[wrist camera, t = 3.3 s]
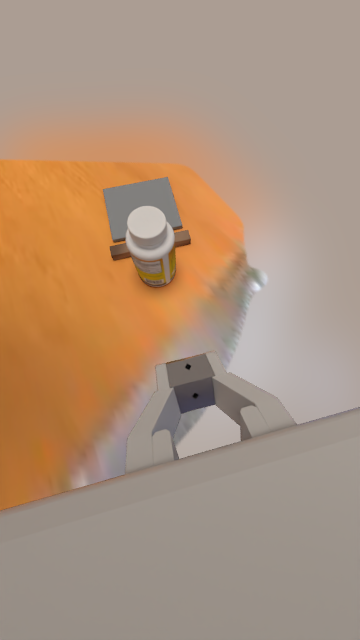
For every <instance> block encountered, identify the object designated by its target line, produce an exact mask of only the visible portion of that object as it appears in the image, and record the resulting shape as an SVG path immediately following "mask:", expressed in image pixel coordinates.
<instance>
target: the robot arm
mask: <svg viewBox="0 0 360 640" xmlns="http://www.w3.org/2000/svg"><path fill="white" fill-rule="evenodd" d="M155 369H156V379H157V389H158V391H157V392H154V394H153V396H152V398H151V399H150V401H149V403H148V404H147V406H146V408H145V409H144V411H143V413H142V414H141V416H140V418H139V420H138V421H137V423H136V425H135V426H134V428H133V430H132V431H131V433H130V435H129V436H128V438H127V450H126V467H125V475H122V476H119V477H115V478H112V479H108V480H105V481H101V482H98V483H95V484H91V485H88V486H84V487H81V488H77V489H74V490H70V491H67V492H63V493H60V494H56V495H53V496H49V497H46V498H42V499H39V500H36V501H32V502H29V503H25V504H22V505H18V506H15V507H11V508H8V509H4V510H1V511H0V640H360V407H358V408H355V409H351V410H348V411H344V412H341V413H337V414H334V415H330V416H327V417H323V418H320V419H316V420H313V421H309V422H306V423H303V424H299V425H297V424H296V423H295V421H294V420H293V418H292V417H291V416H290V414H289V413H288V411H287V410H286V409H285V407H284V406H283V405H282V403H281V402H280V400H279V399H278V398H277V397H275V396H274V395H272V394H270V393H268V392H266V391H264V390H262V389H260V388H258V387H257V386H255V385H253V384H251V383H249V382H247V381H245V380H244V379H242V378H240V377H238V376H236V375H234V374H232V373H227V372H226V370H225V368H224V366H223V364H222V363H221V361H220V359H219V357H218V355H217V353H216V351H210V352H206V353H203V354H200V355H196V356H192V357H188V358H184V359H180V360H176V361H171V362H167V363H163V364H159V365H156V367H155ZM215 404H216V406H217V407H218V408H220V409H221V410H222V411H223V412H224V413H226V414H227V415H228V416H229V417H230V418H231V419H233V420H234V421H235V422H236V423H237V424H239V425H240V430H241V442H237V443H233V444H230V445H226V446H223V447H219V448H216V449H212V450H209V451H206V452H202V453H199V454H195V455H192V456H188V457H185V458H182V459H179V457H178V454H177V451H176V448H175V445H174V442H173V437H174V434H175V431H176V429H177V426H178V423H179V420H180V417H181V414H182V413H185V412H189V411H192V410H195V409H199V408H203V407H207V406H211V405H215Z"/></svg>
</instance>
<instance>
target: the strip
mask: <svg viewBox="0 0 360 640" xmlns="http://www.w3.org/2000/svg"><path fill="white" fill-rule="evenodd" d="M174 236H175V247H178V246H182V245H187V244H190V241H191V238H190V235H189V232H188V230H186V231H181V232H176V233H174ZM110 251H111V256H112V258H113V260H118V259H122V258H127V257H131V255H130V252H129V250H128V248H127V245H126V243H124V244H119V245H115V246H110Z"/></svg>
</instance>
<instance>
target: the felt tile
mask: <svg viewBox="0 0 360 640" xmlns="http://www.w3.org/2000/svg"><path fill="white" fill-rule="evenodd" d="M103 192H104V197H105V203H106V208H107V213H108V218H109V224H110V229H111V234H112V239H113V242H118V241H123V240H126V232H127V230H128V226H127V220H128V217H129V215H130V214H131V212H132V211H133V210H135V209H137V208H139V207H142V206H153V207H156V208H158V209H159V210H161V211H162V212H163V214H164V215H165V218H166V221H167V222H168V223H169V224H170V226H171V227H172V229H173V230H176V229H180V228H182V223H181V220H180V216H179V213H178V210H177V206H176V203H175V200H174V196H173V193H172V190H171V186H170V183H169V180H168V177H165V178H160V179H155V180H150V181H144V182H139V183H134V184H129V185H123V186H118V187H113V188H108V189H103Z"/></svg>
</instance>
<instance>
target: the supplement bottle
mask: <svg viewBox="0 0 360 640" xmlns="http://www.w3.org/2000/svg"><path fill="white" fill-rule="evenodd" d="M127 226H128V230H127V232H126V245H127V248H128V250H129V252H130V255H131V257H132V259H133V262H134V264H135V266H136V269H137V271H138V274H139V276H140V278H141V279H142V281H143V282H145V283H146V284H148V285H150V286H153V287H160V286H164V285H166V284H168V283H169V282H170V281H171V280H172V279H173V278H174V276H175V272H176V258H175V236H174V231H173V229H172V227H171V226H170V224H169V223H168V222H167V221H166V218H165V215H164V214H163V212H162V211H161V210H159V209H158V208H156V207H153V206H142V207H139V208H137V209H135V210H133V211H132V212H131V214H130V215H129V217H128V220H127Z"/></svg>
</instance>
